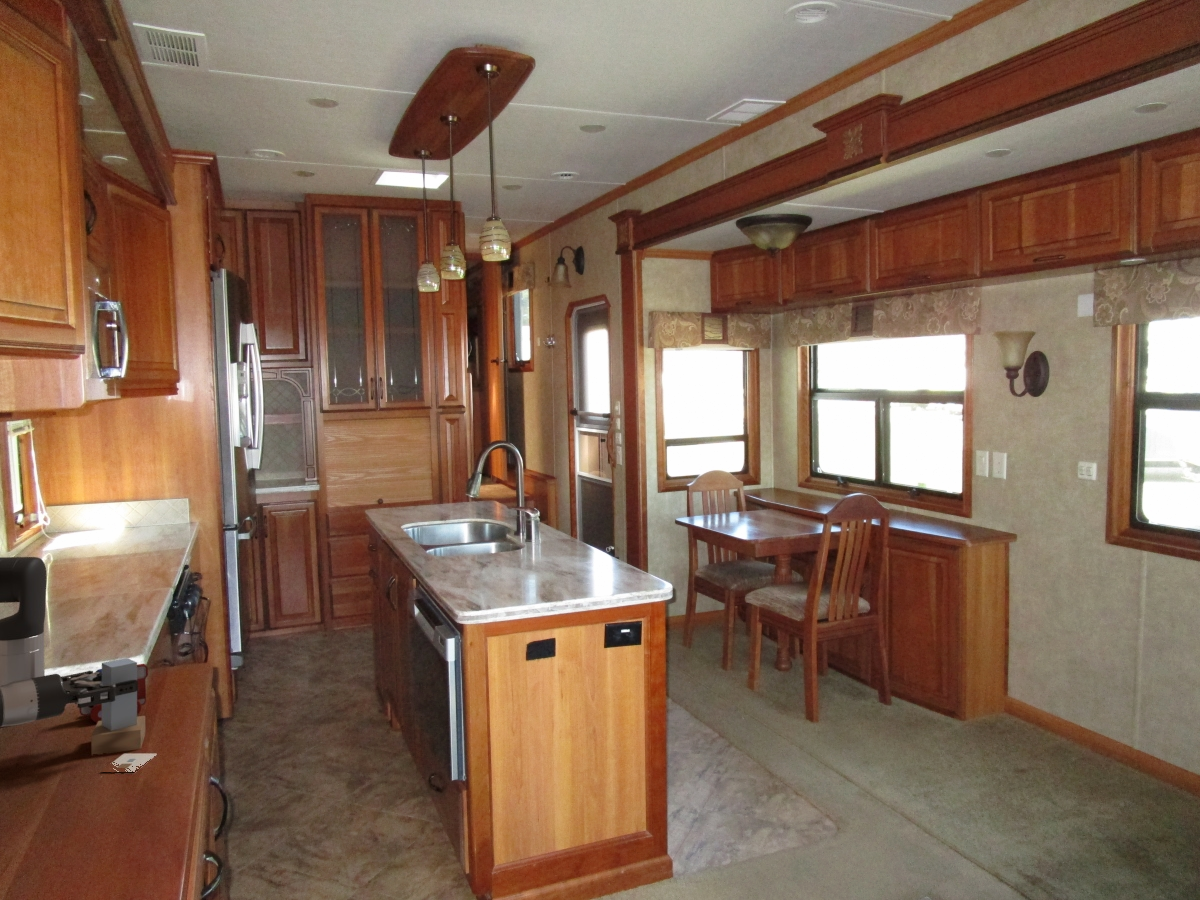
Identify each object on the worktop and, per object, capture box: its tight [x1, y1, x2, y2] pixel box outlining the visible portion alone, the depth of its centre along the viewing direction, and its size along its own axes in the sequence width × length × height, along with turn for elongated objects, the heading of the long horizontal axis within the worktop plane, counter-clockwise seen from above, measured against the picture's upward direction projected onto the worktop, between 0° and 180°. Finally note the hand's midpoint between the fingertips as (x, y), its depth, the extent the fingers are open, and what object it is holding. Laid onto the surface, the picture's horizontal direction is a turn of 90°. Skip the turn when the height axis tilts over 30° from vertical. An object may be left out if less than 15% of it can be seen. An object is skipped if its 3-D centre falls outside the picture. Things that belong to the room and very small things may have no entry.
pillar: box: [101, 657, 138, 731], centre depth 159 cm, size 4×4×12 cm
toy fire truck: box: [79, 663, 149, 724], centre depth 173 cm, size 7×12×10 cm, turn 122°
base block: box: [90, 715, 146, 756], centre depth 159 cm, size 8×8×4 cm
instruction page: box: [111, 753, 157, 773], centre depth 150 cm, size 6×8×1 cm
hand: (129, 679), depth 160 cm, fingers open, 8 cm apart
